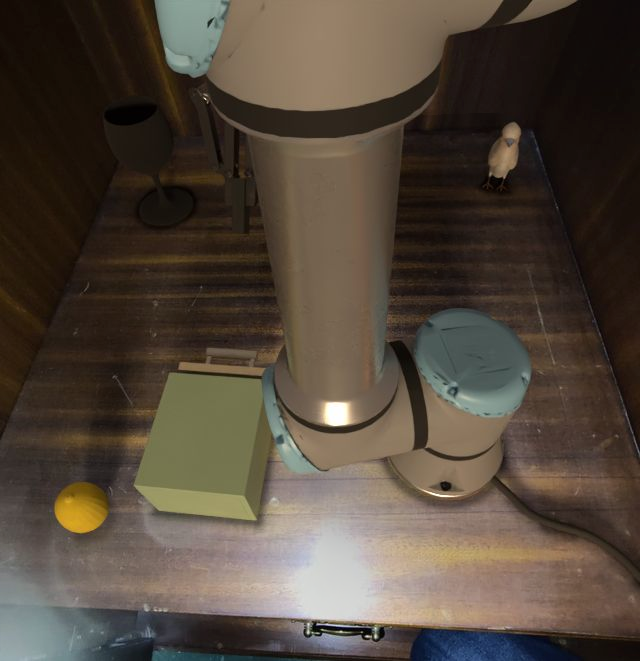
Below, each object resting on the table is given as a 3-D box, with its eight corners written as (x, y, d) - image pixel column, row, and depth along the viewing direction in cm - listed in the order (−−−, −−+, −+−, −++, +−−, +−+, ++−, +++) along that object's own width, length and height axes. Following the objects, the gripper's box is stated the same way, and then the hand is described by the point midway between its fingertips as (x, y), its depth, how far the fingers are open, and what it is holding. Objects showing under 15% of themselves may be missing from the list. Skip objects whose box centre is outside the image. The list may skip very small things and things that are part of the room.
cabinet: (188, 406, 73) (169, 372, 65) (275, 413, 72) (266, 379, 64) (158, 510, 65) (132, 485, 57) (256, 520, 64) (244, 496, 56)
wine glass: (127, 216, 97) (83, 119, 81) (161, 183, 102) (126, 86, 86) (171, 233, 94) (135, 135, 78) (204, 198, 99) (176, 100, 83)
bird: (476, 209, 94) (495, 136, 82) (485, 163, 101) (504, 90, 89) (504, 213, 93) (527, 140, 81) (510, 167, 100) (533, 93, 88)
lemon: (121, 493, 66) (97, 471, 60) (113, 538, 63) (86, 520, 57) (79, 495, 67) (50, 474, 60) (68, 540, 63) (36, 523, 57)
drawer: (201, 365, 76) (188, 335, 70) (277, 370, 75) (271, 340, 69) (168, 483, 66) (149, 460, 60) (255, 491, 65) (245, 469, 59)
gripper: (304, 40, 63) (297, 236, 67) (200, 40, 65) (199, 232, 68) (294, 13, 56) (287, 235, 60) (178, 13, 57) (178, 230, 61)
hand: (240, 233), depth 64 cm, fingers closed
